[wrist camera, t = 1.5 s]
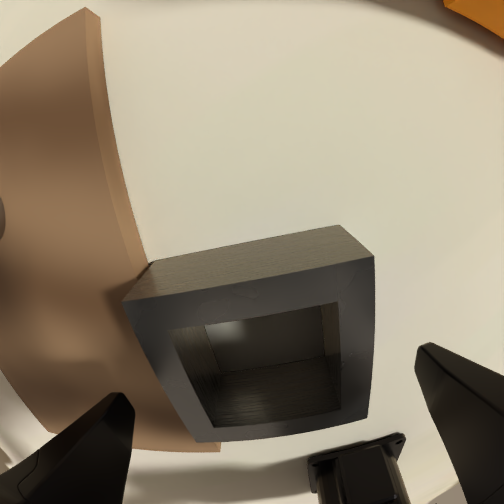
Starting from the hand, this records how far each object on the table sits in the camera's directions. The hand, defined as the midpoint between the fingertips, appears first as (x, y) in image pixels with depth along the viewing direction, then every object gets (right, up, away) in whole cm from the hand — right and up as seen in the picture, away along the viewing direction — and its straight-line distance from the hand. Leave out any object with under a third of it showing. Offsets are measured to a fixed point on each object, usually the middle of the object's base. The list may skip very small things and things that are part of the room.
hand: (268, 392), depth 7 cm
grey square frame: (0, +1, +3) cm, 3 cm away
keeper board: (-10, +2, +3) cm, 11 cm away
